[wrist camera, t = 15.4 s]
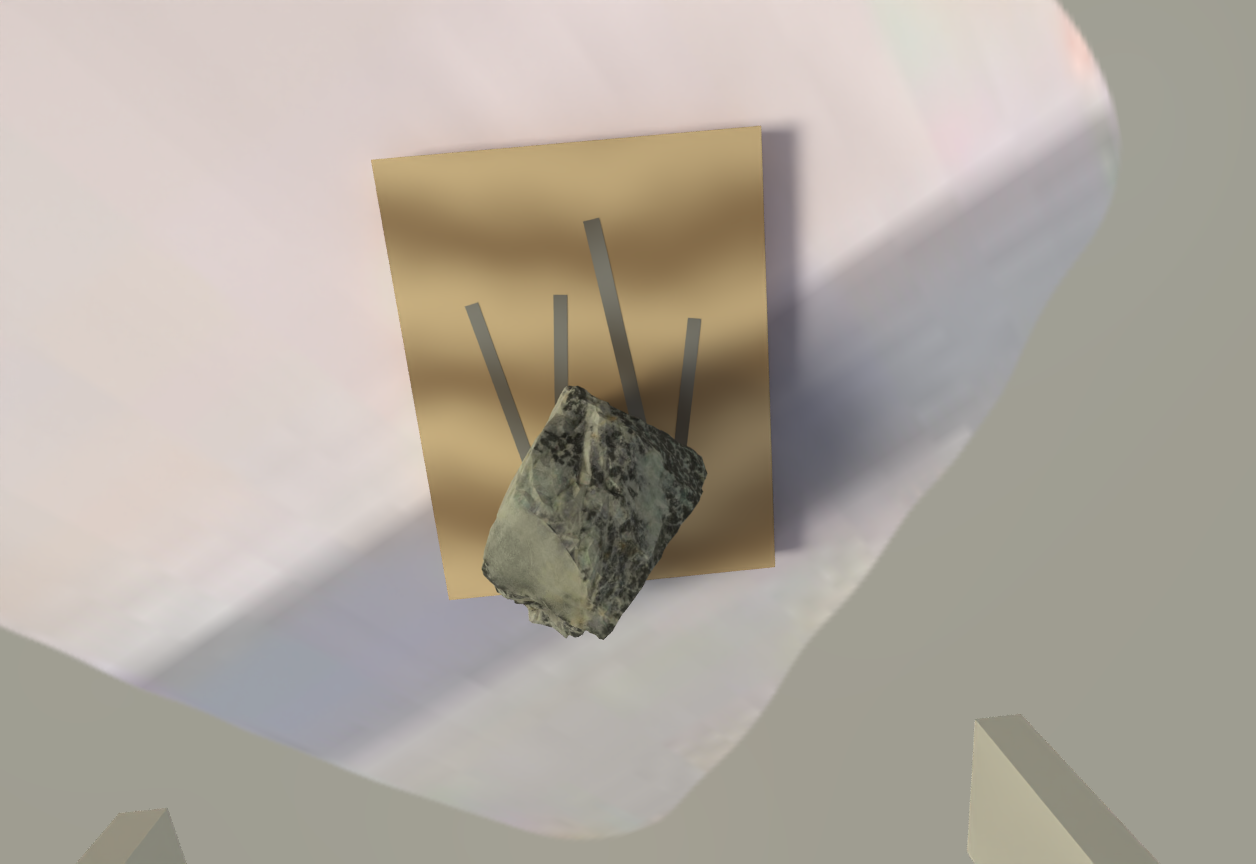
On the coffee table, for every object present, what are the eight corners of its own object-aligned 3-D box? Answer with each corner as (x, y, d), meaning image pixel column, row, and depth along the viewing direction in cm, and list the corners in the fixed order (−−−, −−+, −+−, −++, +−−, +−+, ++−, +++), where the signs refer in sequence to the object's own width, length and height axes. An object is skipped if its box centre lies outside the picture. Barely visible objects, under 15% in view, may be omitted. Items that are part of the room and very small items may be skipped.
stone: (681, 696, 22) (526, 447, 19) (507, 674, 29) (375, 488, 26) (785, 522, 28) (680, 317, 25) (623, 538, 35) (527, 378, 32)
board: (382, 165, 28) (370, 159, 26) (752, 132, 28) (761, 125, 27) (455, 585, 33) (449, 600, 32) (767, 553, 33) (775, 567, 32)
